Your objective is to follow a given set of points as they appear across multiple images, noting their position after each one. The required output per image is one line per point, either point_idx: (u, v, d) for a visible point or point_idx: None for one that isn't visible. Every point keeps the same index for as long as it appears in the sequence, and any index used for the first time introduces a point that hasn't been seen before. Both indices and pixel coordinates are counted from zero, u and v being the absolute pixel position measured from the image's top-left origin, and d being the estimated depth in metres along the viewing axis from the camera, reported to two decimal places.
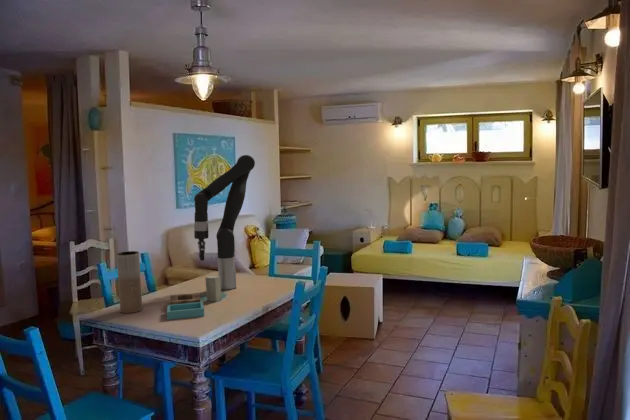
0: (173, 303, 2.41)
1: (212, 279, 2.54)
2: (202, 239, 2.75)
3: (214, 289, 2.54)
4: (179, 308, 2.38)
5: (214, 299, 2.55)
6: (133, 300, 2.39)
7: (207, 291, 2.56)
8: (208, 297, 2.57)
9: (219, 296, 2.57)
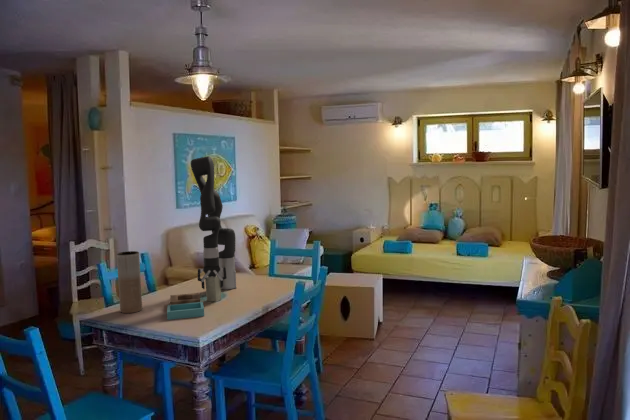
0: (173, 303, 2.41)
1: (212, 279, 2.54)
2: (219, 265, 2.58)
3: (214, 289, 2.54)
4: (179, 308, 2.38)
5: (214, 299, 2.55)
6: (133, 300, 2.39)
7: (207, 291, 2.56)
8: (208, 297, 2.57)
9: (219, 296, 2.57)
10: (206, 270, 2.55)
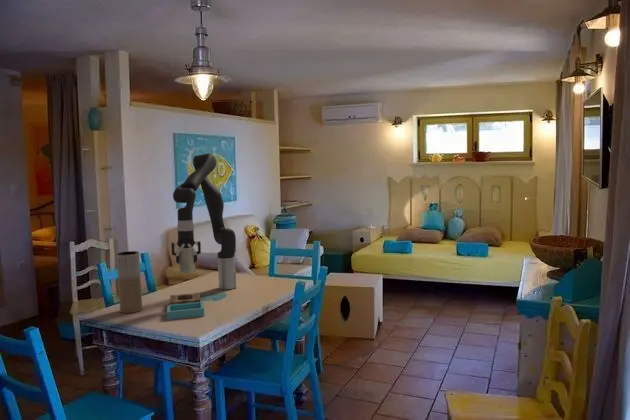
0: (173, 303, 2.41)
1: (185, 250, 2.46)
2: (193, 239, 2.49)
3: (187, 260, 2.46)
4: (179, 308, 2.38)
5: (187, 271, 2.46)
6: (133, 300, 2.39)
7: (180, 262, 2.48)
8: (181, 269, 2.48)
9: (193, 267, 2.48)
10: (180, 244, 2.46)
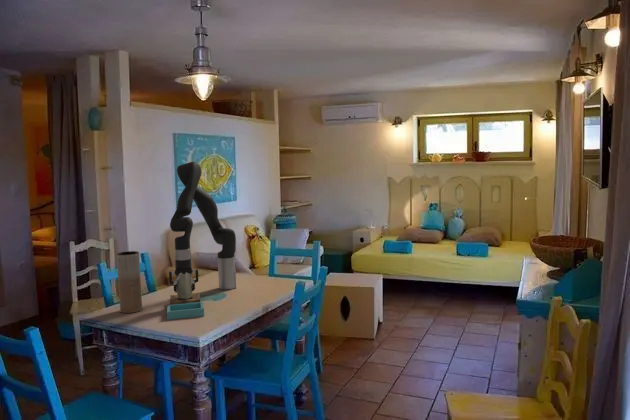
0: (173, 303, 2.41)
1: (182, 276, 2.45)
2: None
3: (184, 286, 2.45)
4: (179, 308, 2.38)
5: (185, 296, 2.46)
6: (133, 300, 2.39)
7: (177, 288, 2.47)
8: (179, 294, 2.48)
9: (190, 293, 2.48)
10: (178, 273, 2.46)
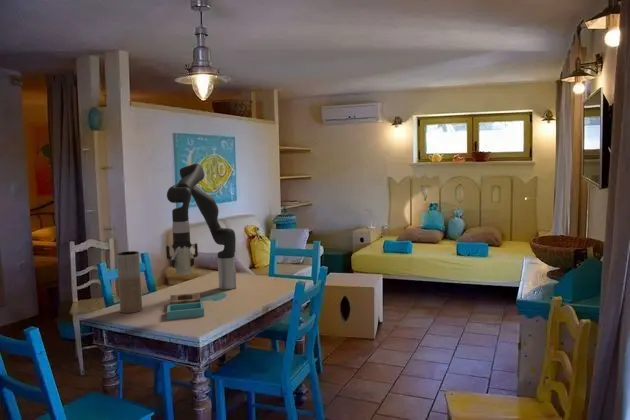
0: (173, 303, 2.41)
1: (180, 250, 2.29)
2: None
3: (183, 261, 2.29)
4: (179, 308, 2.38)
5: (183, 272, 2.30)
6: (133, 300, 2.39)
7: (175, 263, 2.31)
8: (177, 270, 2.32)
9: (189, 268, 2.32)
10: (175, 247, 2.30)
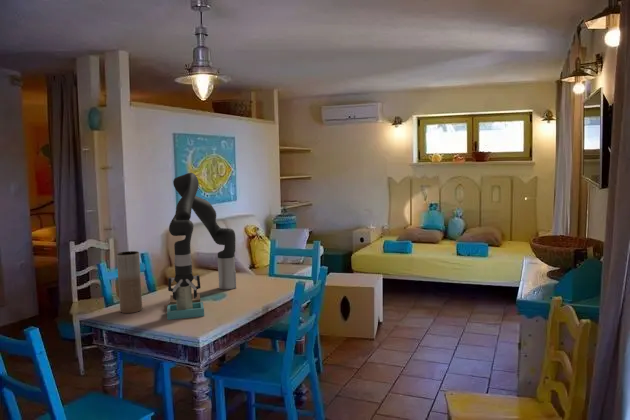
0: (173, 303, 2.41)
1: (182, 288, 2.31)
2: None
3: (184, 300, 2.31)
4: None
5: None
6: (133, 300, 2.39)
7: (177, 301, 2.33)
8: (178, 308, 2.33)
9: (190, 307, 2.33)
10: (178, 279, 2.31)
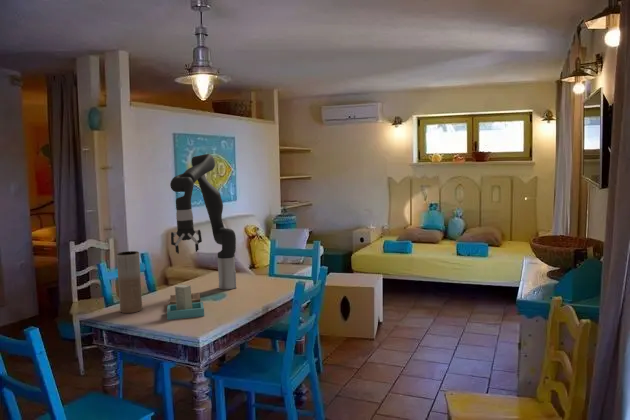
0: (173, 303, 2.41)
1: (181, 289, 2.31)
2: None
3: (183, 300, 2.31)
4: None
5: None
6: (133, 300, 2.39)
7: (177, 301, 2.33)
8: (178, 308, 2.33)
9: (190, 307, 2.33)
10: (180, 233, 2.42)
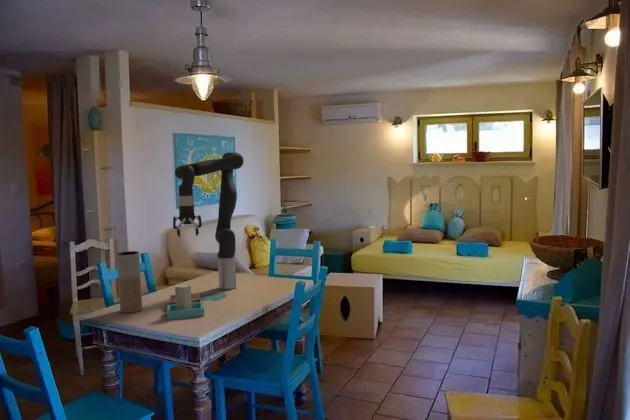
0: (173, 303, 2.41)
1: (181, 289, 2.31)
2: None
3: (183, 300, 2.31)
4: None
5: None
6: (133, 300, 2.39)
7: (177, 301, 2.33)
8: (178, 308, 2.33)
9: (190, 307, 2.33)
10: (181, 218, 2.60)
